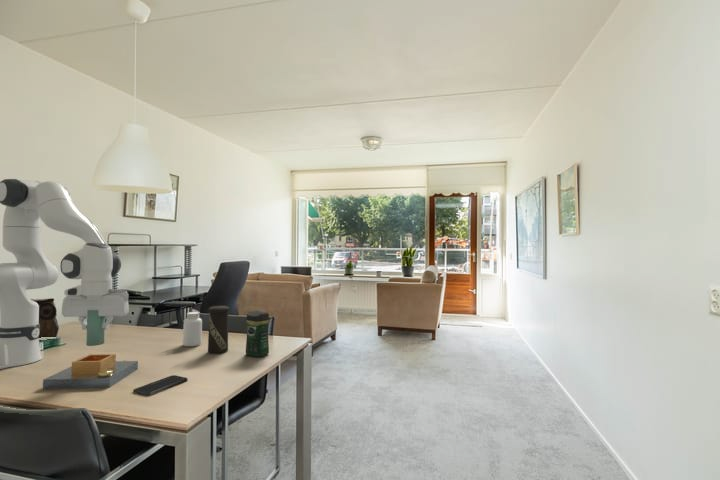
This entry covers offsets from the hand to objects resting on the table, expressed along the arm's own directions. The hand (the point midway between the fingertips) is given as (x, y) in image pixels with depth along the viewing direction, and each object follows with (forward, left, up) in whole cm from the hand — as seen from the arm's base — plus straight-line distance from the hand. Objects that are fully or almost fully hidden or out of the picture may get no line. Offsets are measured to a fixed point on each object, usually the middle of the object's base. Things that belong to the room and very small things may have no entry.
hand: (95, 329), depth 125 cm
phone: (+26, -9, -18) cm, 33 cm away
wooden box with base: (0, 0, -17) cm, 17 cm away
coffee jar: (+51, +25, -17) cm, 59 cm away
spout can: (0, 0, -5) cm, 5 cm away
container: (+33, +31, -17) cm, 48 cm away
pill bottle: (+18, +43, -17) cm, 50 cm away
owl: (-58, +60, -17) cm, 85 cm away
